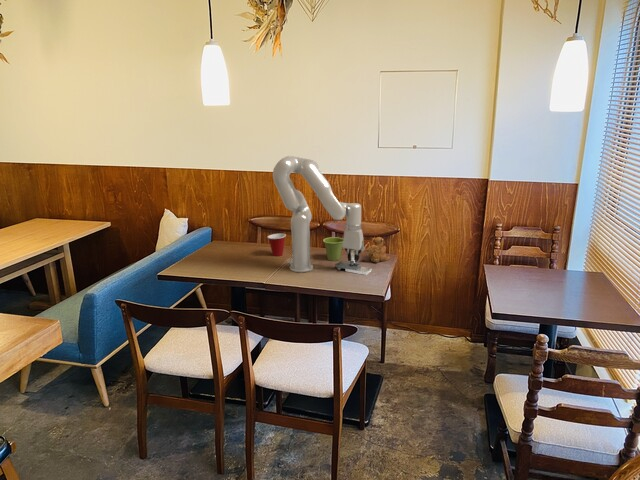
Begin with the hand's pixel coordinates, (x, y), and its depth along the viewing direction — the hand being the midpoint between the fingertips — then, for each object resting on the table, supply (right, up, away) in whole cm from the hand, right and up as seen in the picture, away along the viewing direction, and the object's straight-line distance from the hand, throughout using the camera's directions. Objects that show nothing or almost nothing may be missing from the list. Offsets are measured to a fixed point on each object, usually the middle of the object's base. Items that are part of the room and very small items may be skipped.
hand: (353, 260), depth 256 cm
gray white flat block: (0, -5, +2) cm, 6 cm away
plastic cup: (-43, +2, +29) cm, 51 cm away
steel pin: (0, -2, 0) cm, 2 cm away
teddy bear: (+15, -1, +17) cm, 23 cm away
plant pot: (-10, 0, +21) cm, 23 cm away
